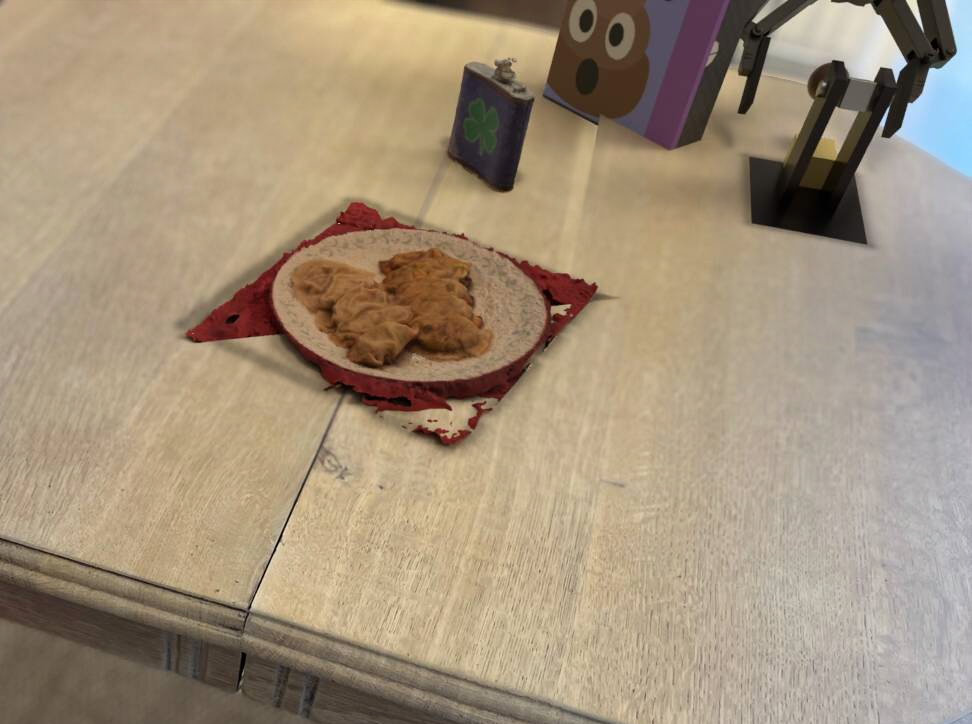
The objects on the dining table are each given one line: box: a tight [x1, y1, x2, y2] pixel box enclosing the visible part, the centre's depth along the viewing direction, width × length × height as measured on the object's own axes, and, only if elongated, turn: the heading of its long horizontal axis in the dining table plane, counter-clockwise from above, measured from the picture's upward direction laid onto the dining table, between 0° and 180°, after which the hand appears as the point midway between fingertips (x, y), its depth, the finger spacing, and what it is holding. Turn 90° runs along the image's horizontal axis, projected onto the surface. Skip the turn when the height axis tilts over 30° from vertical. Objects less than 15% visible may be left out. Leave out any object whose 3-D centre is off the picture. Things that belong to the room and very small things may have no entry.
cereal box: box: [542, 0, 754, 151], centre depth 104 cm, size 17×5×24 cm, turn 33°
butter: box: [782, 133, 838, 190], centre depth 102 cm, size 5×4×3 cm
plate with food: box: [184, 201, 599, 446], centre depth 85 cm, size 24×26×4 cm
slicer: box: [748, 59, 898, 246], centre depth 96 cm, size 14×10×13 cm
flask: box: [446, 57, 535, 194], centre depth 100 cm, size 9×3×11 cm, turn 28°
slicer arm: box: [806, 62, 877, 112], centre depth 98 cm, size 15×4×4 cm, turn 162°
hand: (816, 120), depth 103 cm, fingers open, 13 cm apart
